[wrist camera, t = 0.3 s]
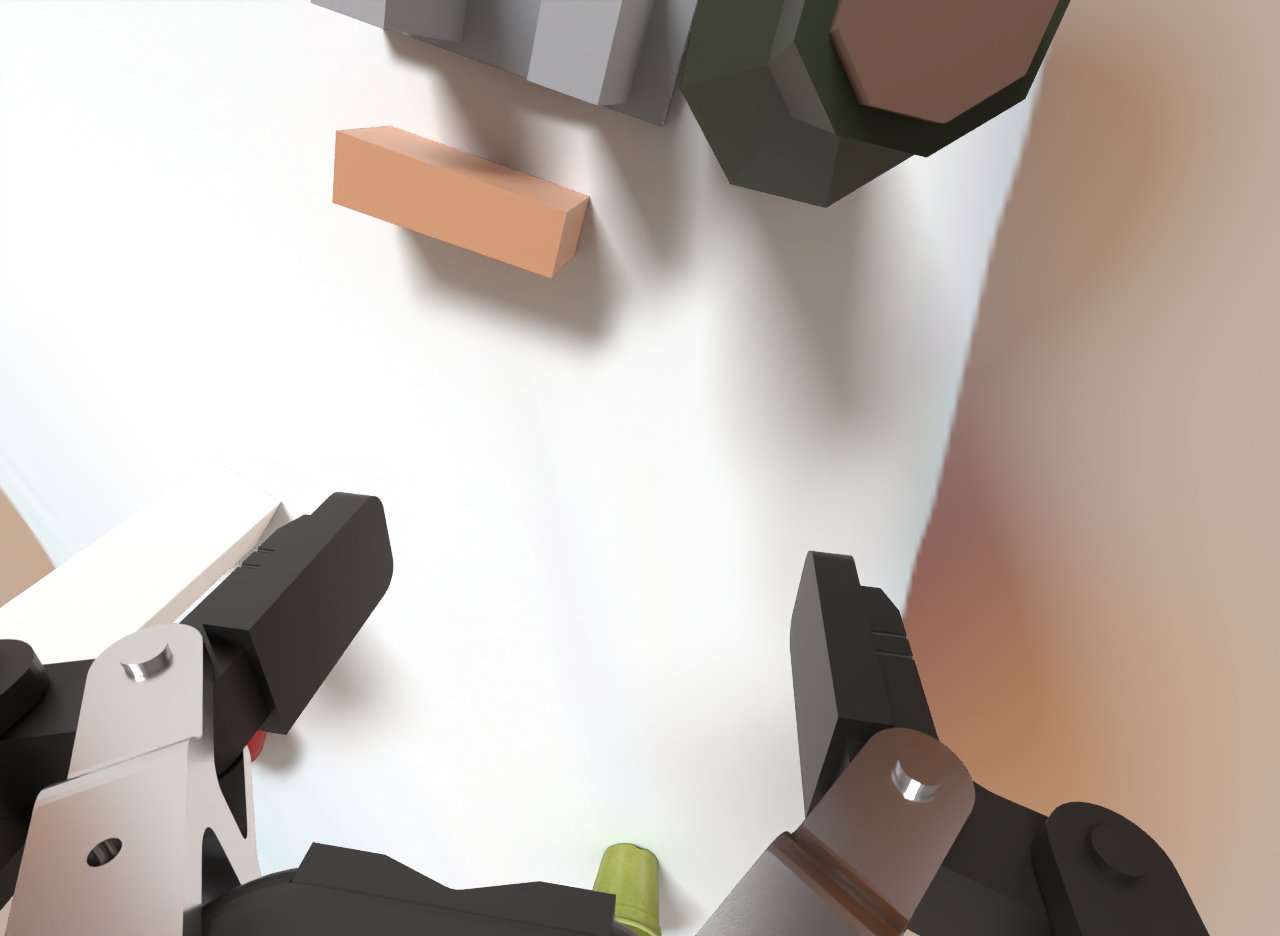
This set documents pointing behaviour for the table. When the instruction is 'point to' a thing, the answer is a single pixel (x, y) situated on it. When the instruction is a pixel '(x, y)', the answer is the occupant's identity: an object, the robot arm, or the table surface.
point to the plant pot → (631, 887)
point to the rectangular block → (458, 198)
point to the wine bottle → (853, 83)
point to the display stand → (555, 42)
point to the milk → (142, 568)
